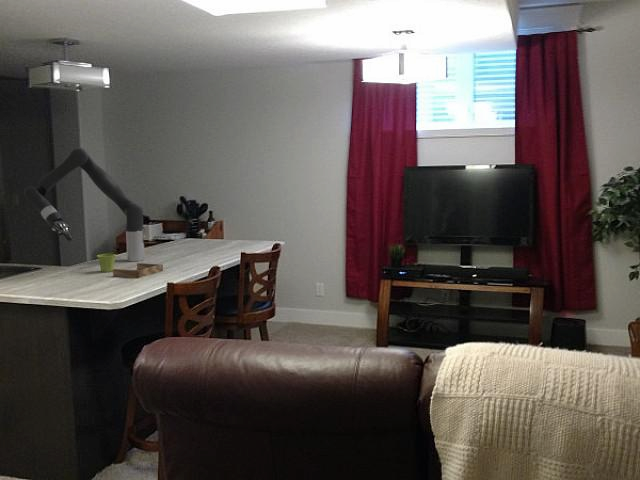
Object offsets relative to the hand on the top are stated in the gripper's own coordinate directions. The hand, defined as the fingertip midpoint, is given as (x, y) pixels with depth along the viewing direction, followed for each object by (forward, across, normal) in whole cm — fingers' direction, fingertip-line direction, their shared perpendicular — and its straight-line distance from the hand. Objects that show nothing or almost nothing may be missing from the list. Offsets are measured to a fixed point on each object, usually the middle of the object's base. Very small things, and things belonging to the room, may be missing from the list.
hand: (71, 239), depth 326 cm
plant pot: (+28, 0, -5) cm, 28 cm away
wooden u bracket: (+41, 0, -18) cm, 45 cm away
